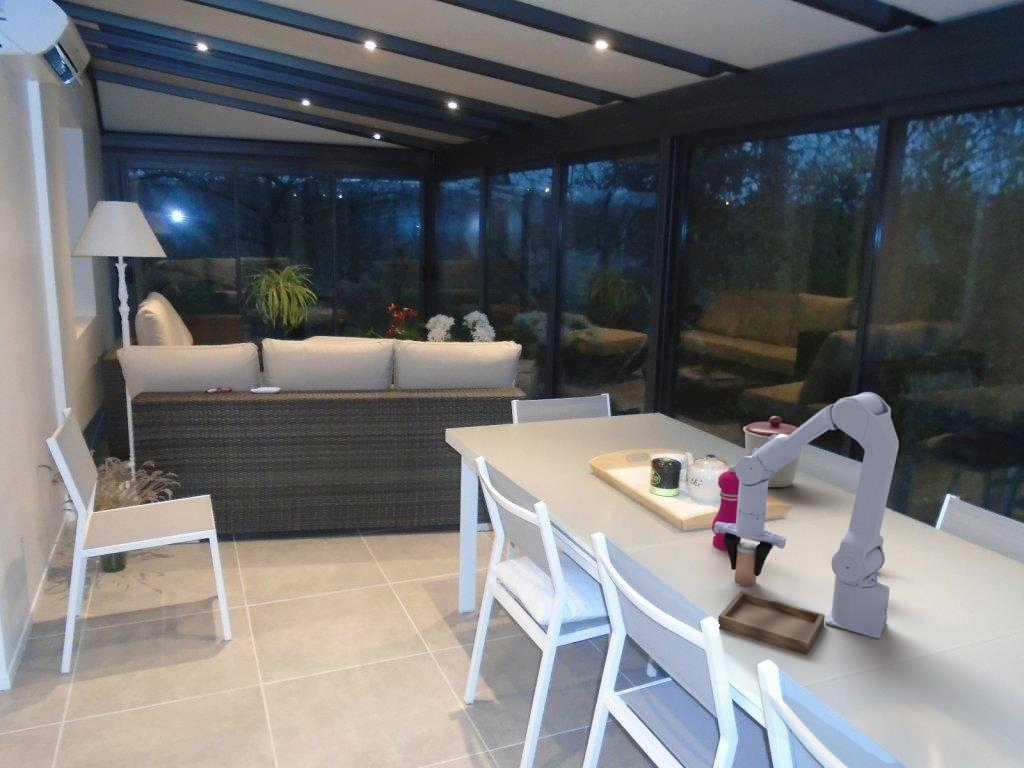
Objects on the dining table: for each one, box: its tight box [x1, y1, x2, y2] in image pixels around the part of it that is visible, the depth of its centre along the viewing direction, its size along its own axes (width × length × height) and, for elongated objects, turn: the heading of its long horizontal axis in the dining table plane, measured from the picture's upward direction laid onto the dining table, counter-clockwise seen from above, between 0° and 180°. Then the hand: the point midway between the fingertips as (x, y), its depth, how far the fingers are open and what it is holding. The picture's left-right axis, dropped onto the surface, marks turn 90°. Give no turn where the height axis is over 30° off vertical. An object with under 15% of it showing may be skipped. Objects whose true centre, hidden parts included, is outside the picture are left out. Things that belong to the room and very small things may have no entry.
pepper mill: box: [711, 464, 740, 551], centre depth 175 cm, size 7×7×20 cm
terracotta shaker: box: [734, 542, 758, 587], centre depth 157 cm, size 5×5×8 cm
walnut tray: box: [717, 590, 826, 656], centre depth 139 cm, size 16×13×2 cm
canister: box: [742, 415, 803, 488], centre depth 224 cm, size 18×18×21 cm
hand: (746, 571), depth 157 cm, fingers closed on terracotta shaker, 4 cm apart
